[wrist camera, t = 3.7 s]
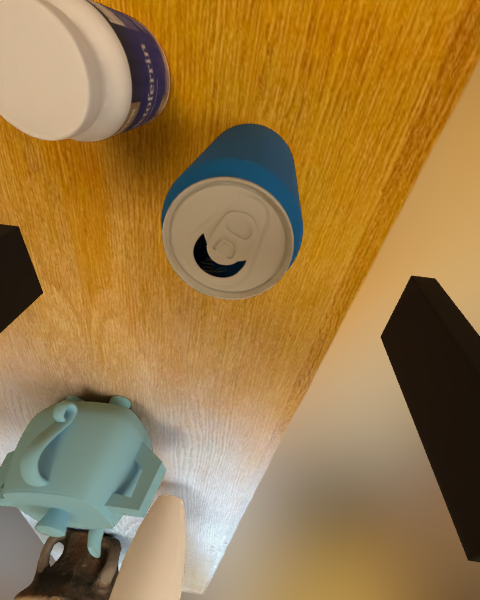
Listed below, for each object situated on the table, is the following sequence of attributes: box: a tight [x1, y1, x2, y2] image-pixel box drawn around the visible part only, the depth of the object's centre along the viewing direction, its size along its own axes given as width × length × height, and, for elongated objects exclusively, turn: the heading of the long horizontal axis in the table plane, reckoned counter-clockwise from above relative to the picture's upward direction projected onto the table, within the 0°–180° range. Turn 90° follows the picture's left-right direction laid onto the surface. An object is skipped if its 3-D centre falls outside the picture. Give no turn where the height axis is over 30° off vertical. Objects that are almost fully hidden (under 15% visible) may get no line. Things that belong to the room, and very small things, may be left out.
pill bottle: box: [0, 0, 170, 142], centre depth 16 cm, size 6×6×10 cm
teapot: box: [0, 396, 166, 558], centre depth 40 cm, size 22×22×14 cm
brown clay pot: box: [14, 529, 121, 600], centre depth 78 cm, size 27×26×15 cm
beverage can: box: [161, 124, 303, 300], centre depth 18 cm, size 6×6×12 cm
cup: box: [109, 495, 186, 600], centre depth 48 cm, size 10×10×22 cm
